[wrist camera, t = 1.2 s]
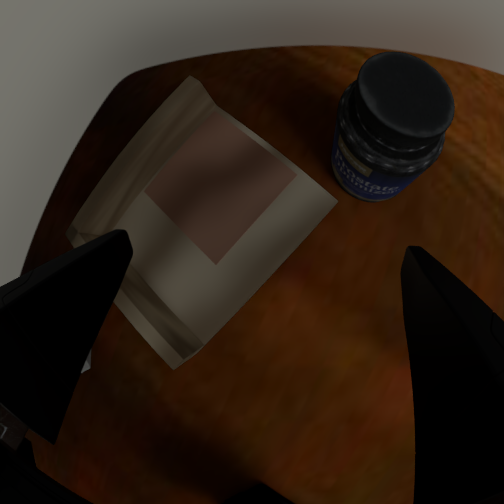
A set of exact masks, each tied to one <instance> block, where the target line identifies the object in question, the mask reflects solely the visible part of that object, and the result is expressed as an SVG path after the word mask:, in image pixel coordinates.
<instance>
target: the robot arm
mask: <svg viewBox="0 0 504 504" xmlns="http://www.w3.org/2000/svg"><path fill="white" fill-rule="evenodd" d="M132 257H133V248H132V244H131V241H130V238H129V235H128V232H127V231H126V230H124V229H115V230H113V231H110V232H108V233H106V234H104V235H102V236H100V237H97V238H95V239H93V240H91V241H89V242H87V243H85V244H83V245H81V246H79V247H77V248H75V249H72V250H70V251H68V252H66V253H64V254H62V255H60V256H58V257H56V258H54V259H53V260H51V261H49V262H47V263H45V264H43V265H41V266H39V267H37V268H35V270H31V271H30V272H28V273H26V274H24V275H22V276H20V277H18V278H16V279H15V280H13V281H11V282H9V283H7V284H5V285H3V286H1V287H0V504H93V503H91V502H89V501H88V500H86V499H84V498H82V497H81V496H79V495H77V494H76V493H74V492H72V491H71V490H69V489H67V488H66V487H64V486H63V485H61V484H60V483H58V482H57V481H55V480H54V479H52V478H51V477H49V476H48V475H46V474H45V473H43V472H42V471H41V470H39V469H38V468H37V467H36V463H35V459H34V454H33V449H32V444H31V441H29V440H28V439H26V438H25V435H26V433H27V431H28V429H30V430H32V431H33V432H35V433H36V434H38V435H39V436H41V437H42V438H44V439H45V440H47V441H48V442H50V443H51V444H53V445H54V444H55V442H56V440H57V437H58V434H59V431H60V428H61V425H62V422H63V419H64V416H65V413H66V411H67V408H68V405H69V403H70V400H71V397H72V395H73V392H74V389H75V386H76V384H77V381H78V379H79V376H80V374H81V372H82V369H83V367H84V364H85V362H86V360H87V357H88V355H89V353H90V351H91V348H92V346H93V344H94V342H95V339H96V337H97V335H98V333H99V331H100V328H101V326H102V324H103V322H104V320H105V318H106V316H107V314H108V312H109V309H110V307H111V305H112V303H113V301H114V299H115V297H116V295H117V293H118V291H119V289H120V286H121V284H122V281H123V279H124V276H125V274H126V271H127V269H128V266H129V264H130V262H131V259H132ZM401 286H402V300H403V316H404V325H405V331H406V338H407V345H408V352H409V360H410V369H411V378H412V389H413V402H414V419H415V452H416V454H415V485H414V502H413V504H504V321H503V320H502V319H501V318H500V317H499V316H498V315H497V314H496V313H495V312H493V310H492V309H491V308H490V307H489V306H487V305H486V304H485V303H484V302H483V301H482V300H481V299H480V298H479V297H478V296H477V295H476V294H475V293H474V292H473V291H472V290H471V289H469V288H468V287H467V286H466V285H465V284H464V283H463V282H462V281H461V280H459V279H458V278H457V277H456V276H455V275H454V274H453V273H452V272H450V271H449V270H448V269H447V268H446V267H445V266H443V265H442V264H441V263H440V262H439V261H438V260H436V259H435V258H434V257H433V256H432V255H430V254H429V253H428V252H427V251H425V250H424V249H423V248H422V247H420V246H408V247H407V249H406V252H405V256H404V260H403V263H402V267H401ZM259 488H262V489H259ZM222 504H292V503H291V502H289V501H288V500H286V499H284V498H283V497H281V496H280V495H278V494H277V493H275V492H274V491H273V490H271V489H270V488H268V487H267V486H265V485H263V484H258V485H256V486H254V487H252V488H251V489H249V490H247V491H245V492H240V493H238V494H237V495H235V496H233V497H231V498H229V499H227V500H225V502H224V503H222Z"/></svg>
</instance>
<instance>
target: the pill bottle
mask: <svg viewBox="0 0 504 504" xmlns="http://www.w3.org/2000/svg"><path fill="white" fill-rule="evenodd" d="M454 108H455V106H454V99H453V96H452V93H451V91H450V88H449V86H448V85H447V83H446V81H445V80H444V79H443V77H442V76H441V75H440V74H439V73H438V72H437V71H436V70H435V69H434V68H433V67H431V66H430V65H429V64H428V63H426V62H425V61H423V60H421V59H419V58H417V57H415V56H412V55H409V54H406V53H401V52H384V53H380V54H377V55H374V56H372V57H371V58H369V59H368V60H367V61H366V62H365V63H364V64H363V65H362V67H361V69H360V71H359V74H358V77H357V80H355V81H354V82H353V83H352V84H350V85H349V86H348V88H347V89H346V90H345V91H344V93H343V95H342V96H341V99H340V101H339V106H338V112H337V120H336V127H335V134H334V141H333V148H332V153H331V164H332V168H333V172H334V175H335V178H336V180H337V182H338V183H339V185H340V186H341V187H342V188H343V189H344V190H345V191H346V192H348V193H349V194H350V195H351V196H353V197H355V198H357V199H359V200H362V201H366V202H379V201H383V200H387V199H390V198H393V197H395V196H396V195H397V194H398V193H399V192H400V191H402V190H403V189H404V188H405V187H406V186H408V185H409V184H410V183H411V182H412V181H413V180H415V179H416V178H417V177H418V176H419V175H420V174H422V173H423V172H424V171H425V170H426V169H427V168H429V167H430V166H431V165H432V164H433V163H434V162H435V161H436V160H437V158H438V156H439V155H440V153H441V151H442V148H443V144H444V141H445V139H444V138H445V131H446V130H447V128H448V127H449V126H450V124H451V122H452V120H453V117H454Z"/></svg>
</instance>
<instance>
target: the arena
mask: <svg viewBox="0 0 504 504" xmlns="http://www.w3.org/2000/svg"><path fill="white" fill-rule="evenodd" d="M337 202H338V201H337V200H336V199H335V198H334V197H333V196H332V195H330V194H329V193H328V192H327V191H326V190H325V189H324V188H322V187H321V186H320V185H319V184H318V183H316V182H315V181H314V180H313V179H312V178H311V177H309V176H308V175H307V174H306V173H305V172H303V171H302V170H301V169H300V168H298V167H297V166H296V165H295V164H294V163H292V162H291V161H290V160H289V159H287V158H286V157H285V156H284V155H282V154H281V153H280V152H279V151H277V150H276V149H275V148H273V147H272V146H271V145H270V144H268V143H267V142H266V141H264V140H263V139H262V138H260V137H259V136H258V135H256V134H255V133H254V132H252V131H251V130H250V129H248V128H247V127H246V126H244V125H243V124H242V123H240V122H239V121H237V120H236V119H235V118H233V117H232V116H230V115H229V114H228V113H226V112H225V111H223V110H222V109H221V108H219V107H218V106H216V104H215V103H214V101H213V100H212V98H211V97H210V96H209V94H208V93H207V91H206V90H205V88H204V87H203V85H202V84H201V83H200V81H198V80H196V79H195V78H193V77H192V76H189V77H188V78H187V79H186V80H185V81H184V82H183V83H182V84H181V85H180V86H179V87H178V88H177V89H176V90H175V91H174V92H173V93H172V94H171V95H170V96H169V97H168V98H167V99H166V100H165V101H164V102H163V104H162V105H161V106H160V107H159V108H158V109H157V110H156V111H155V112H154V114H153V115H152V116H151V117H150V118H149V119H148V120H147V121H146V123H145V124H144V125H143V126H142V127H141V128H140V130H139V131H138V132H137V133H136V134H135V136H134V137H133V138H132V139H131V141H130V142H129V143H128V144H127V145H126V147H125V148H124V149H123V151H122V152H121V153H120V154H119V156H118V157H117V158H116V160H115V161H114V162H113V163H112V165H111V166H110V167H109V169H108V170H107V172H106V173H105V174H104V176H103V177H102V178H101V180H100V181H99V183H98V184H97V185H96V187H95V188H94V190H93V191H92V193H91V194H90V196H89V197H88V199H87V200H86V202H85V203H84V205H83V206H82V208H81V209H80V211H79V212H78V214H77V215H76V217H75V219H74V220H73V222H72V223H71V225H70V227H69V228H68V230H67V232H66V233H65V235H66V236H67V238H68V239H69V241H70V242H71V244H72V245H73V247H74V248H77V247H79V246H81V245H83V244H85V243H87V242H89V241H91V240H93V239H95V238H97V237H100V236H102V235H104V234H106V233H108V232H110V231H113V230H115V229H124V230H126V231H127V232H128V235H129V238H130V241H131V244H132V248H133V257H132V259H131V262H130V264H129V266H128V269H127V271H126V274H125V276H124V279H123V281H122V284H121V286H120V289H119V291H118V293H117V295H116V297H115V299H114V301H113V302H114V303H115V304H116V305H117V307H118V308H119V309H120V310H121V311H122V313H123V314H124V315H125V316H126V318H127V319H128V320H129V321H130V322H131V324H132V325H133V326H134V327H135V328H136V329H137V331H138V332H139V333H140V334H141V335H142V336H143V338H144V339H145V340H146V341H147V342H148V343H149V344H150V345H151V347H152V348H153V349H154V350H155V351H156V352H157V353H158V354H159V355H160V356H161V358H162V359H163V360H164V361H165V362H166V363H167V364H168V365H169V366H170V367H171V368H172V369H173V370H174V369H176V368H177V367H178V366H180V365H181V364H183V363H184V362H185V361H187V360H188V359H190V358H191V357H192V356H194V355H195V354H197V353H198V352H199V351H200V350H201V349H202V348H203V347H204V346H205V345H206V344H207V342H208V341H209V340H210V339H211V338H212V337H213V336H214V335H215V334H216V333H217V332H218V331H219V330H220V329H221V328H222V327H223V326H224V325H225V324H226V323H227V322H228V321H229V320H230V319H231V318H232V317H233V315H234V314H235V313H236V312H237V311H238V310H239V309H240V308H241V307H242V306H243V305H244V304H245V303H246V302H247V301H248V300H249V299H250V298H251V296H252V295H253V294H254V293H255V292H256V291H257V290H258V289H259V288H260V287H261V286H262V285H263V284H264V283H265V282H266V280H267V279H268V278H269V277H270V276H271V275H272V274H273V273H274V272H275V271H276V270H277V269H278V268H279V266H280V265H281V264H282V263H283V262H284V261H285V260H286V259H287V258H288V257H289V256H290V254H291V253H292V252H293V251H294V250H295V249H296V248H297V247H298V246H299V245H300V244H301V242H302V241H303V240H304V239H305V238H306V237H307V236H308V235H309V234H310V233H311V231H312V230H313V229H314V228H315V227H316V226H317V225H318V224H319V223H320V221H321V220H322V219H323V218H324V217H325V216H326V215H327V214H328V212H329V211H330V210H331V209H332V208H333V207H334V206H335V205H336V203H337Z"/></svg>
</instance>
